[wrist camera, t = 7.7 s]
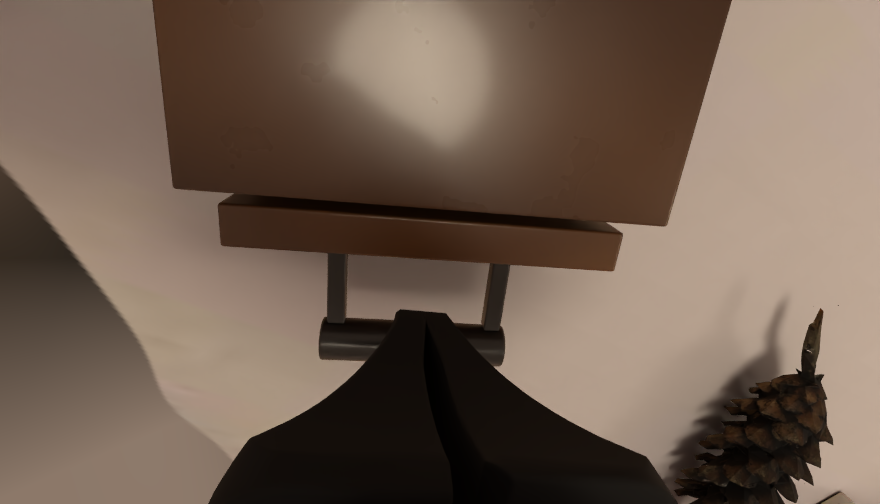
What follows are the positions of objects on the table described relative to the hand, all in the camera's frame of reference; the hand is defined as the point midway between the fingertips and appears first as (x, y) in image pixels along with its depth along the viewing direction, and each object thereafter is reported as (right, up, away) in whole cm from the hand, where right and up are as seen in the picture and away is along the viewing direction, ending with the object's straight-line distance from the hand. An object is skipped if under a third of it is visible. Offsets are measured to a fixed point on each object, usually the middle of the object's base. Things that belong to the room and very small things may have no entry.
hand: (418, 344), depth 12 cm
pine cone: (+16, -3, +6) cm, 17 cm away
